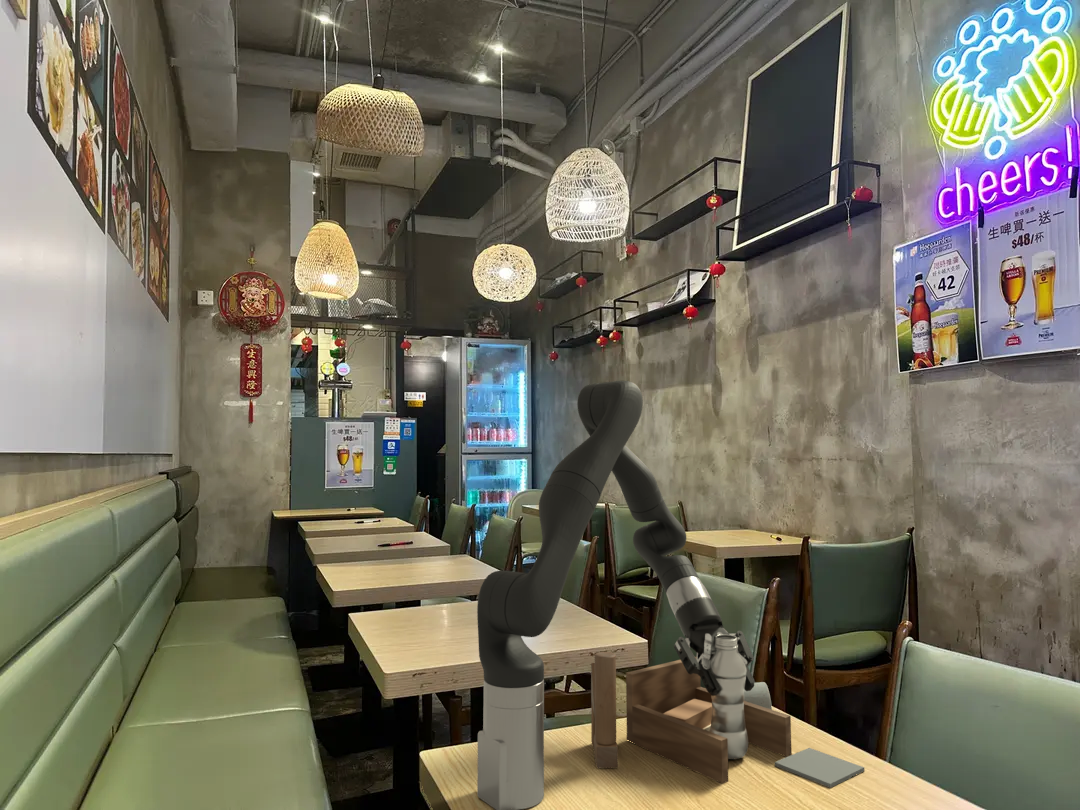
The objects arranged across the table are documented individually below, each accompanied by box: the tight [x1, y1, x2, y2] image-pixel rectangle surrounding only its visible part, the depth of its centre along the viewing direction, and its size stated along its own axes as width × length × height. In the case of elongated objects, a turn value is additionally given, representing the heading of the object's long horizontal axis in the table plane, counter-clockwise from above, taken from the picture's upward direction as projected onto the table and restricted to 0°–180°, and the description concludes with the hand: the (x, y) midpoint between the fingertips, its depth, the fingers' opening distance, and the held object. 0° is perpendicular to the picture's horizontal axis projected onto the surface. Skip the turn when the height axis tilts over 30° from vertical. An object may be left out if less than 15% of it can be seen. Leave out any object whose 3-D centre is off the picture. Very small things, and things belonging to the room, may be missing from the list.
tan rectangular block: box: [663, 699, 712, 732], centre depth 128 cm, size 12×5×6 cm, turn 134°
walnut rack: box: [625, 656, 793, 784], centre depth 126 cm, size 18×22×12 cm
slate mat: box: [774, 747, 865, 789], centre depth 117 cm, size 10×10×1 cm
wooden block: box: [590, 651, 619, 769], centre depth 123 cm, size 4×11×18 cm, turn 0°
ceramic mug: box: [744, 681, 773, 710], centre depth 136 cm, size 11×8×8 cm
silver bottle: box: [709, 635, 749, 760], centre depth 123 cm, size 6×7×20 cm
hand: (733, 690), depth 121 cm, fingers closed on silver bottle, 6 cm apart
